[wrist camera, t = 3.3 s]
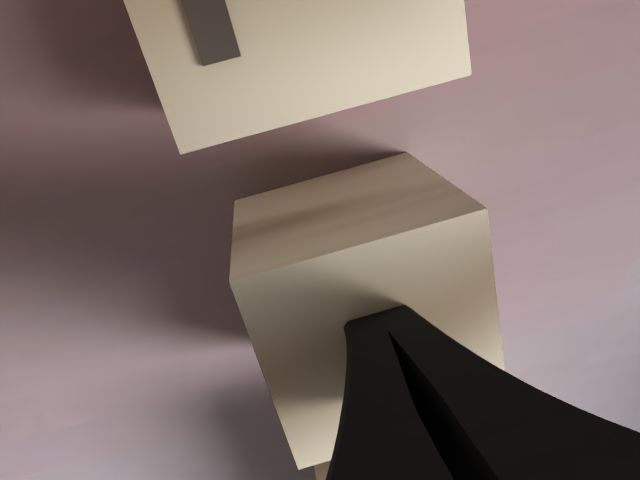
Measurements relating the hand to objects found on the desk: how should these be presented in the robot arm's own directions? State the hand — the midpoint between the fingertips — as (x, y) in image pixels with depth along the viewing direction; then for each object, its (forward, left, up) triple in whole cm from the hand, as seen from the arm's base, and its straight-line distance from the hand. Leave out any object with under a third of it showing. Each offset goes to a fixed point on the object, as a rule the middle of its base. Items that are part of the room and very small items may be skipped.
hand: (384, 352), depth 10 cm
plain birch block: (0, 0, -5) cm, 5 cm away
